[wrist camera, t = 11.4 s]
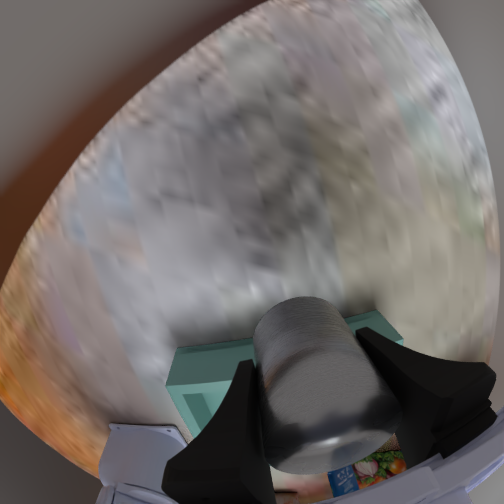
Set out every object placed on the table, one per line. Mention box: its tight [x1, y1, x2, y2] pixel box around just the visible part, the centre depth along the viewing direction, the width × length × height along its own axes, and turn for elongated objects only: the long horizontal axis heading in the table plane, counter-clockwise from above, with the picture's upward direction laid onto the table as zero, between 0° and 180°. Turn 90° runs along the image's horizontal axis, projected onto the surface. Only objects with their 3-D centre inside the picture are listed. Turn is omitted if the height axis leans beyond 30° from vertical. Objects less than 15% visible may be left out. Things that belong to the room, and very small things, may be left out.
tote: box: [165, 310, 404, 466], centre depth 22 cm, size 18×14×5 cm
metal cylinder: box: [253, 297, 402, 474], centre depth 11 cm, size 5×5×7 cm
